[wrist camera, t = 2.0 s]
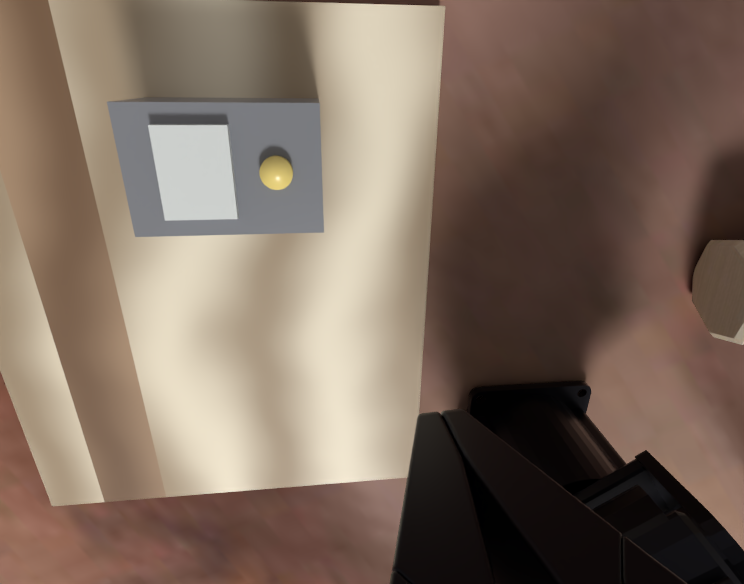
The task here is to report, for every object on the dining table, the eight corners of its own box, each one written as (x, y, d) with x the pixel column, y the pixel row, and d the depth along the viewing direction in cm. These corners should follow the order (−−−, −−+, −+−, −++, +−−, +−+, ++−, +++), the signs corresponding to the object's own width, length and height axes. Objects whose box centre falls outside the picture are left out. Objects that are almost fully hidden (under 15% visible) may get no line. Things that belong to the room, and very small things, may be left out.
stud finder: (318, 98, 17) (319, 103, 14) (322, 206, 19) (324, 235, 15) (146, 97, 16) (102, 102, 13) (166, 209, 18) (131, 240, 15)
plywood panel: (439, 9, 17) (445, 6, 16) (412, 465, 26) (414, 476, 25) (-124, -7, 15) (-146, -11, 14) (59, 493, 24) (52, 506, 23)
